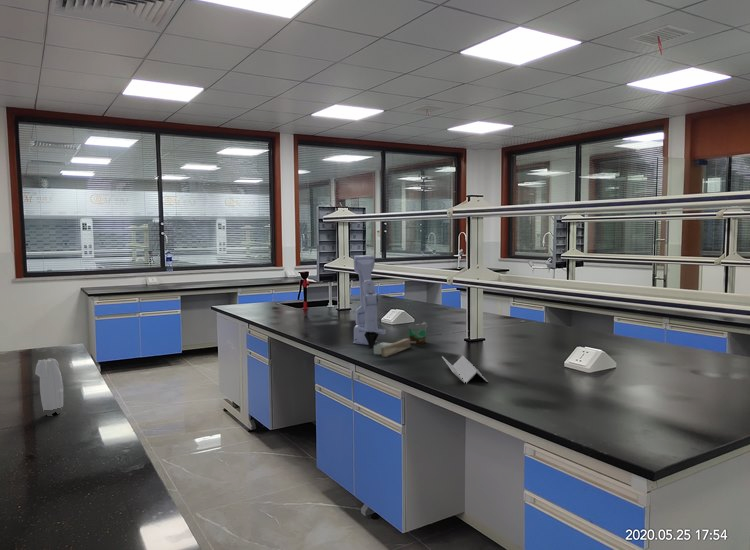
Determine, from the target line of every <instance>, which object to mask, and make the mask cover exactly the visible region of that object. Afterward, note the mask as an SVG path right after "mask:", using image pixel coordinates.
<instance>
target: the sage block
mask: <svg viewBox="0 0 750 550" xmlns="http://www.w3.org/2000/svg"><path fill="white" fill-rule="evenodd" d="M392 343H393V342H391V343H390V342H384V341H382V342H380V343H376V344H375V345H374V348H373V354H374V355H380V354H382V351H381V348H382V347H384V346H387V345H390V344H392Z"/></svg>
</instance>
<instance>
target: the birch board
mask: <svg viewBox="0 0 750 550" xmlns="http://www.w3.org/2000/svg"><path fill="white" fill-rule="evenodd" d="M391 343H392V344H390V345H387V346H384V347H382V348H381V351H382V355H381V357H383V358H384V357H385V358H387V357H390V356H392V355H394V354H397V353H399V352H401V351H404V350H406V349H410V347H411V344H410V338H403V339H401V340H398V341H395V342H391ZM389 355H390V356H389Z"/></svg>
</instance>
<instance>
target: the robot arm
mask: <svg viewBox="0 0 750 550" xmlns="http://www.w3.org/2000/svg"><path fill="white" fill-rule="evenodd" d="M375 262H376V260H375V256H374V255H373V254H369V255H364V254H363V255H362V254H361V255H355V254H354V256H353V268H354V269H353V270H354V273H357V274H358V279H359V280H358V281H359V297H360V298H359V300H360V301H359V302H360V306H359V307H357V308H356V309H355V315H354V316H355V317H354V318H355V320H354V321H355V324H356V325H355V326H354V327H353V342H352V343H353V344H358V345H367V346H368V347H369V349H370V350H371V349H373V350H374V345H376V343H377V342H378V341H377V339H378V337H379V334H380V335H385V334H387V330H386V329H384V328H383V329H382V328H378V306H379V296H378V293H377V291H376V287H375V282H374V281H373V280H372V272H373V270H374V267H375Z"/></svg>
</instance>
